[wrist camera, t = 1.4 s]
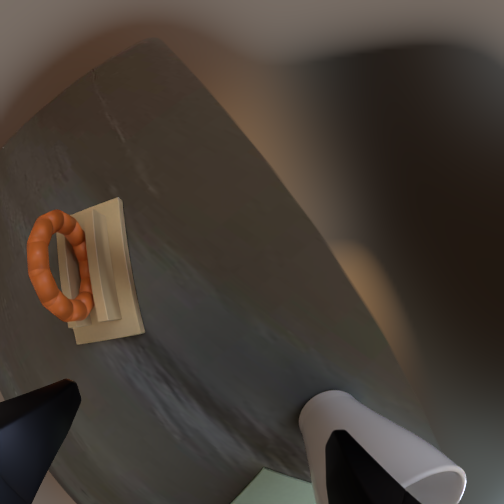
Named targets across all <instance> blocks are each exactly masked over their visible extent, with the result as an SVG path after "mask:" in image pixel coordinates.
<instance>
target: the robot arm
mask: <svg viewBox="0 0 504 504" xmlns="http://www.w3.org/2000/svg"><path fill="white" fill-rule="evenodd" d="M80 403H81V396H80V393H79V389H78V386H77V384H76V382H74V381H72V380H70V379H63V380H61V381H58V382H56V383H53V384H50V385H48V386H45V387H42V388H40V389H37V390H34V391H32V392H29V393H26V394H23V395H20V396H18V397H15V398H12V399H9V400H6V401H3V402H0V504H32V502H33V500H34V497H35V495H36V493H37V491H38V489H39V487H40V485H41V483H42V481H43V479H44V477H45V475H46V473H47V471H48V469H49V467H50V465H51V463H52V461H53V459H54V458H55V456H56V454H57V452H58V450H59V448H60V446H61V445H62V443H63V441H64V439H65V437H66V435H67V434H68V431H69V429H70V427H71V424H72V422H73V420H74V417H75V415H76V413H77V410H78V408H79V406H80ZM325 464H326V489H327V496H328V503H329V504H421V503H420V502H419V501H418V500H417V499H416V498H414V497H413V496H412V495H411V494H410V493H409V492H408V491H406V490H405V489H404V488H403V487H402V486H401V485H400V484H399V483H398V482H397V481H396V480H395V479H394V478H393V477H392V476H391V475H390V474H389V473H388V472H387V471H386V470H385V469H384V468H383V467H382V466H381V465H380V464H379V463H378V462H377V461H376V460H375V459H374V458H373V457H372V456H371V455H370V454H369V453H368V452H367V451H366V450H365V449H364V448H363V447H362V446H361V445H360V444H359V443H358V442H357V441H356V440H355V439H354V438H353V437H352V436H351V435H350V434H349V433H348V432H347V431H346V430H344V429H340V430H333V431H332V433H331V435H330V437H329V439H328V441H327V443H326V446H325Z"/></svg>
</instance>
